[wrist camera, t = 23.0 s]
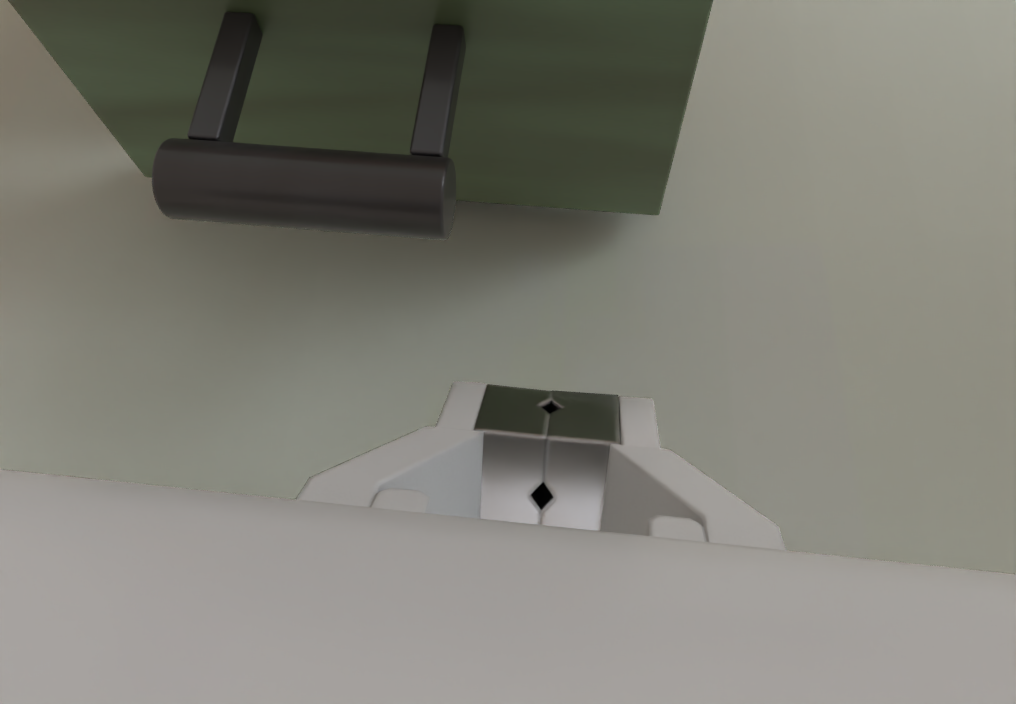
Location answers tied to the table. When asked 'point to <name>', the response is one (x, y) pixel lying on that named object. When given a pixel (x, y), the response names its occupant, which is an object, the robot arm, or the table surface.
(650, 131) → the drawer
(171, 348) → the table surface
